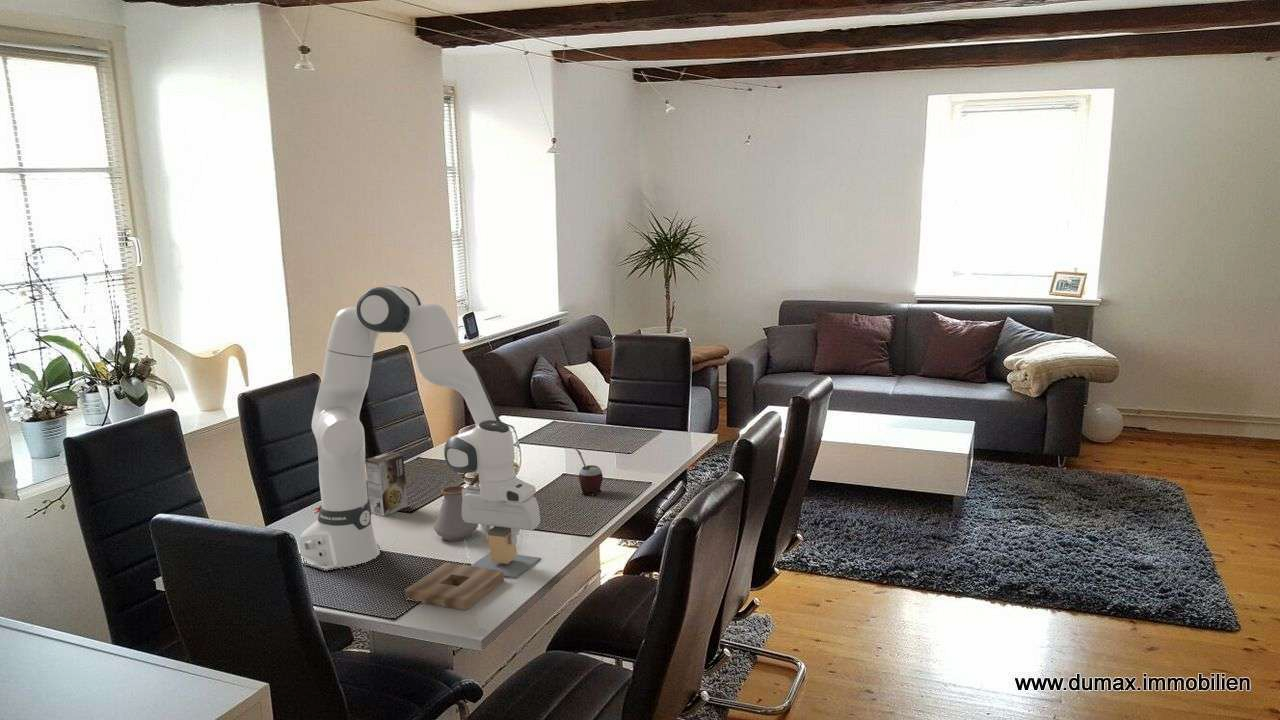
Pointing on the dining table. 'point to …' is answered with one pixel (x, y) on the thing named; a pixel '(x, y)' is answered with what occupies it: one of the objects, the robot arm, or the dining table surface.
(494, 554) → the plug
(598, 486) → the mate gourd
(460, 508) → the coffee pot
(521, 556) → the slate mat
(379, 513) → the coffee box
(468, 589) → the wooden socket board
